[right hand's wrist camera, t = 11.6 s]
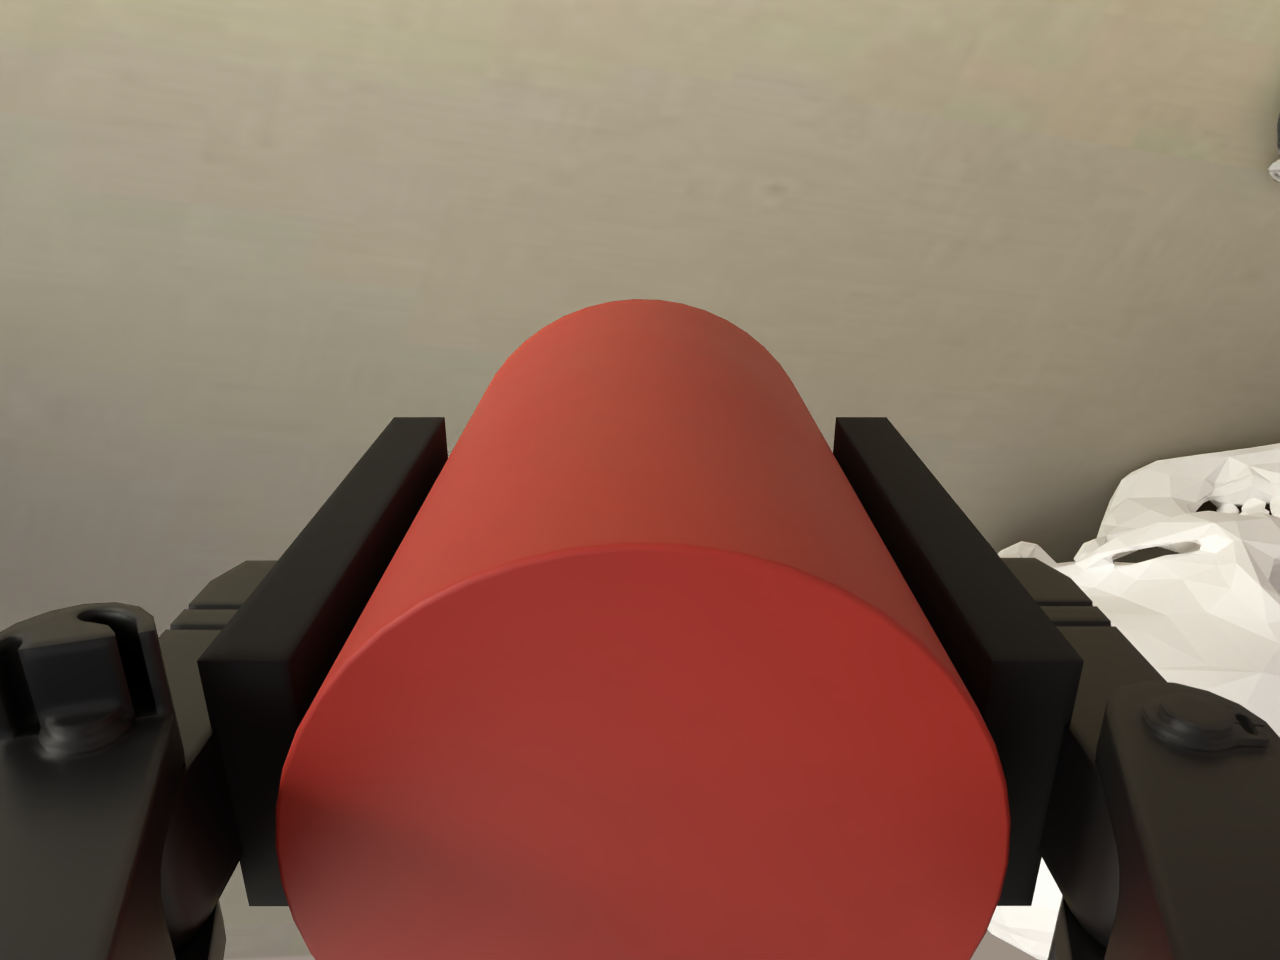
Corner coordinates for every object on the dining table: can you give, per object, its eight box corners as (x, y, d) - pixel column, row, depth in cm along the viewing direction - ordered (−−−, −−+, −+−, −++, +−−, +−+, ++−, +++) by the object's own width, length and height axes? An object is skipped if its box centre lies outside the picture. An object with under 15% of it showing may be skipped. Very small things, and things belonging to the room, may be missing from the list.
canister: (734, 658, 17) (824, 1175, 9) (430, 561, 16) (210, 1027, 8) (870, 371, 15) (1160, 692, 7) (529, 245, 14) (372, 428, 6)
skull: (1413, 541, 38) (1894, 800, 23) (984, 826, 44) (1149, 1179, 29) (1244, 311, 35) (1675, 440, 20) (805, 650, 41) (886, 946, 26)
